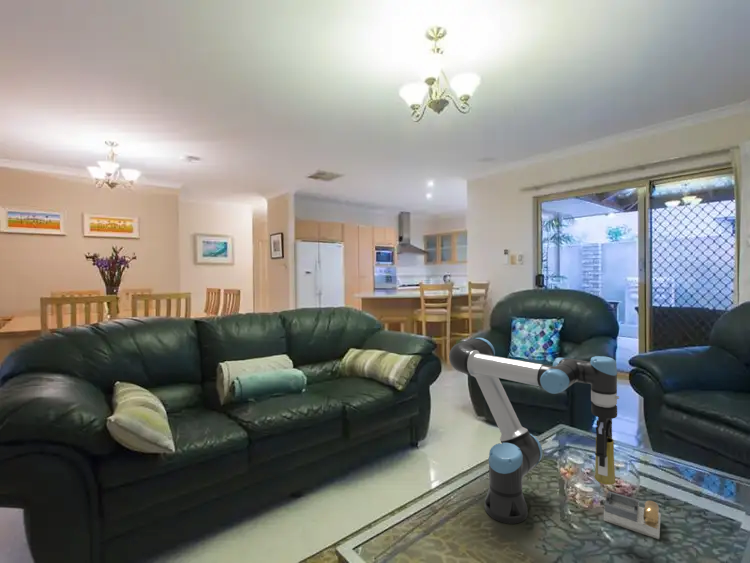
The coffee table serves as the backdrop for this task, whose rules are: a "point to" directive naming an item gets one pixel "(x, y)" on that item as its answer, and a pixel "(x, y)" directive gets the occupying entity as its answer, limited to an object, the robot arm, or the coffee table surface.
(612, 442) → the vase
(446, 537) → the coffee table surface
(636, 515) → the white holder stand
